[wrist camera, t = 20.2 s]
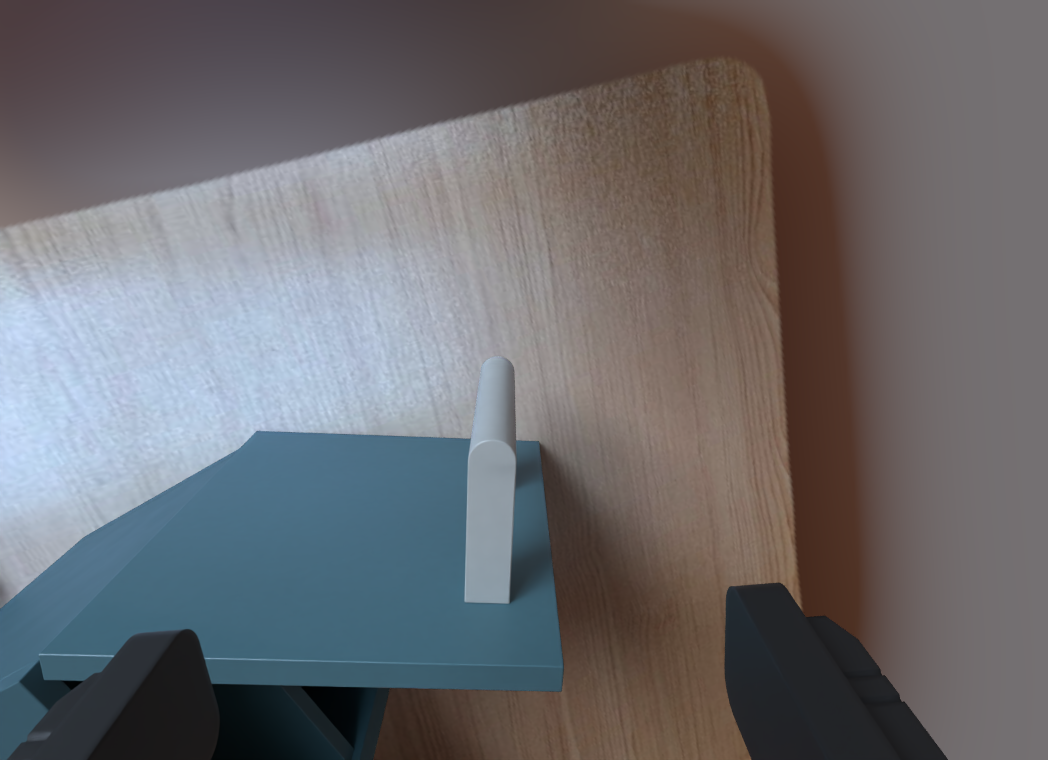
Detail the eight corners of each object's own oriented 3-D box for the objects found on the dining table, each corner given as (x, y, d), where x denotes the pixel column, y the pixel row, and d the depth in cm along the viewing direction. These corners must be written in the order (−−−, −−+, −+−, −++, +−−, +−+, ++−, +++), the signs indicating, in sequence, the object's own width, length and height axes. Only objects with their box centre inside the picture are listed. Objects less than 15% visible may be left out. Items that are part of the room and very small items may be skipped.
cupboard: (247, 443, 37) (17, 681, 20) (400, 643, 41) (322, 978, 24) (84, 536, 38) (-261, 831, 21) (248, 718, 43) (73, 1084, 26)
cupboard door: (247, 321, 34) (-6, 464, 17) (545, 334, 35) (579, 484, 18) (258, 447, 37) (43, 681, 20) (537, 456, 37) (561, 692, 20)
